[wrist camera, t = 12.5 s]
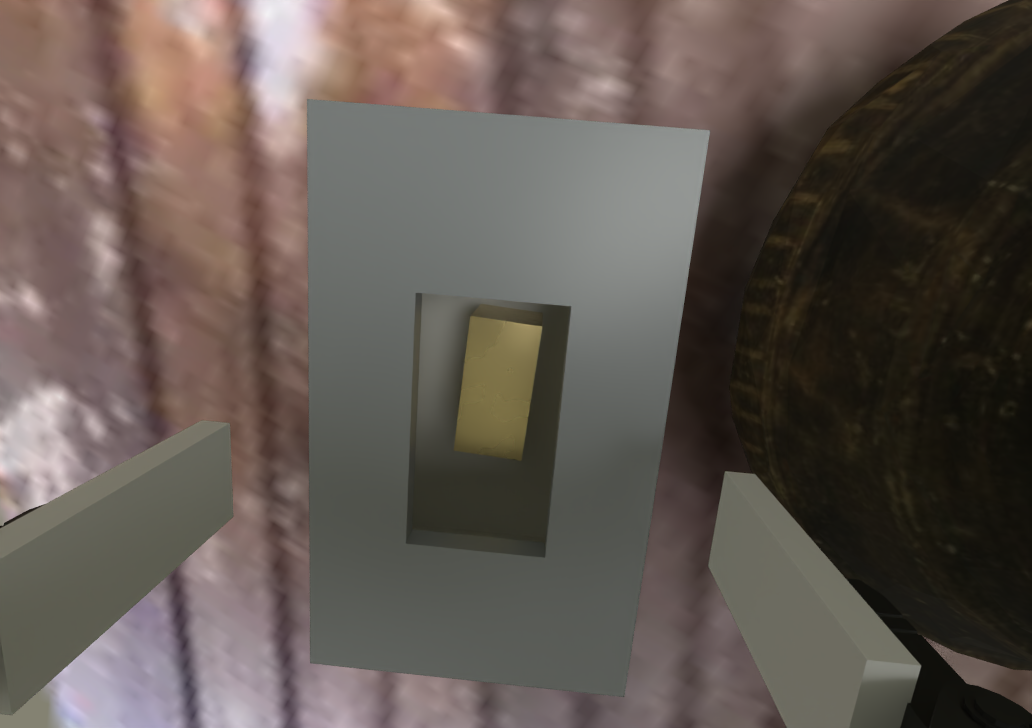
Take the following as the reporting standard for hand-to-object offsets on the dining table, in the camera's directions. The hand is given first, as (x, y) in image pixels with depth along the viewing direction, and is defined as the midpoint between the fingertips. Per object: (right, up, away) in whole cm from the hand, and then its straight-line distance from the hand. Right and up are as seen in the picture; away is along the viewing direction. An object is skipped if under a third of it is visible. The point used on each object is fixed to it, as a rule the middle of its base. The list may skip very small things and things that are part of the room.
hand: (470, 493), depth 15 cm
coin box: (+1, +3, +14) cm, 14 cm away
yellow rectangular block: (+1, +3, +13) cm, 13 cm away
